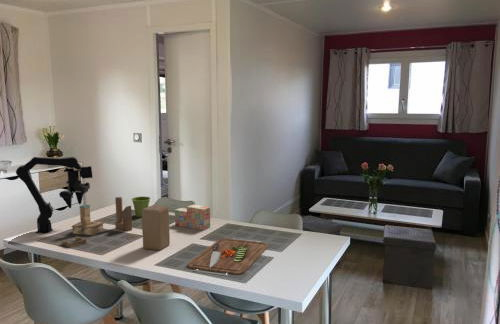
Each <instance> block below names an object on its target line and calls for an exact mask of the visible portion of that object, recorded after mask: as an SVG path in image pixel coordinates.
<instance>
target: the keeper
mask: <svg viewBox="0 0 500 324" xmlns="http://www.w3.org/2000/svg"><path fill="white" fill-rule="evenodd" d="M84 244H87V238H83V237H80V236H75V241H74V242H70V241H67V240H64V239H63V240H61V245H63V246H64V247H68V248H70V249H71V248H74V247H78V246H82V245H84Z"/></svg>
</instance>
